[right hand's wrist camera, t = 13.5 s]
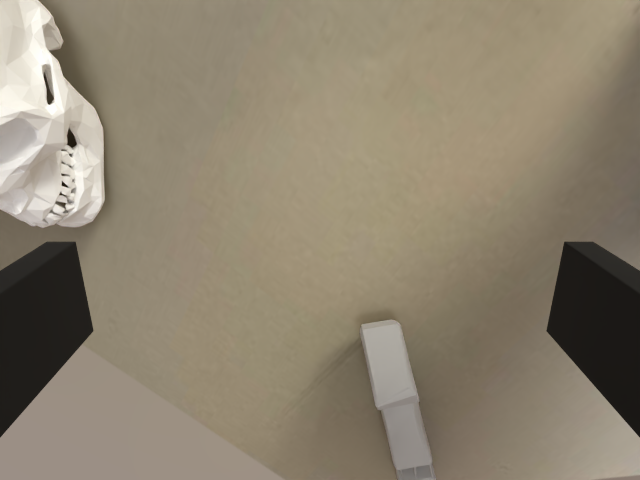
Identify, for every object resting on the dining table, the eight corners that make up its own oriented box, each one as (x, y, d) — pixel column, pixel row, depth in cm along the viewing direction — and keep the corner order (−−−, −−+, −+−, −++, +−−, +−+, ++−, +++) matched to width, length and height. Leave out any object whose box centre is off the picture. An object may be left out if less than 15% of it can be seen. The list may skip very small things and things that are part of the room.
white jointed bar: (355, 317, 40) (363, 371, 34) (397, 308, 40) (412, 361, 34) (396, 465, 49) (408, 529, 43) (430, 458, 48) (447, 522, 42)
